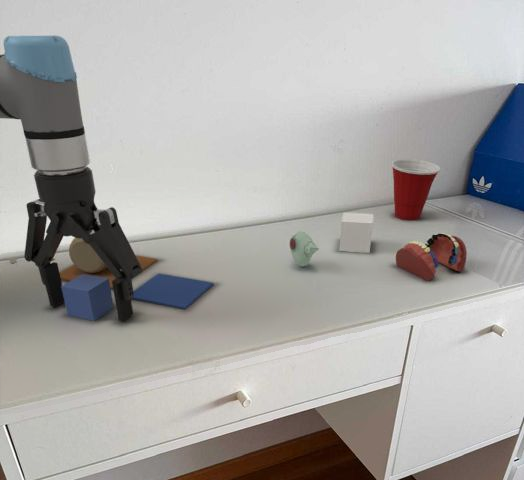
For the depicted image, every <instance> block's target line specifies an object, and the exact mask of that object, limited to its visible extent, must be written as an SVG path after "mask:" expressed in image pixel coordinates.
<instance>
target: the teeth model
mask: <svg viewBox="0 0 524 480" xmlns="http://www.w3.org/2000/svg"><path fill="white" fill-rule="evenodd" d="M395 253H396V254H395V264H396V267H399V268H401V269H402V270H404V271H406V272H408V273H410V274H412V275H415V276H416V277H418V278H420V279H422V280H424V281H427V282H429V281H431V280H432V279H433V278H435V275H436V272H437V269H438V267H439V264H442V265H444V266H446V267H448V268H449V269H451V270H453V271H456V272H460V273H462V272H463V271H464V268H465V266H466V261H467V255H468V254H467V247H466V243H465V242H464V241H463V240H462V238H460V237H458V236H456V235H452V234H448V233H447V232H441V233H440V232H439V233H433V234H432V235H431V237H430V238H428V239H427V240H426V243H423V242H420V241H417V240H411V241H409V242H408V243H406V244H405V245H404V246H403V247H401V248H400V249H398V250H397V251H396V252H395Z"/></svg>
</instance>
